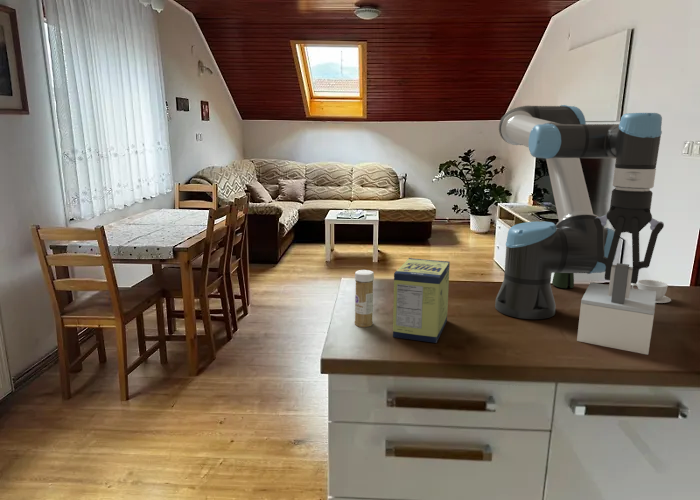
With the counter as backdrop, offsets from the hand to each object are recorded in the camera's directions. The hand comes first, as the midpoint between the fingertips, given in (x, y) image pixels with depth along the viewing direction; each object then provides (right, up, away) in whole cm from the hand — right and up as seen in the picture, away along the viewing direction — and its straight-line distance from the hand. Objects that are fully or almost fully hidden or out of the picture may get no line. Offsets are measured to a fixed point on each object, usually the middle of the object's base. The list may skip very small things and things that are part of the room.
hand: (618, 295), depth 110 cm
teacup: (+27, -4, +34) cm, 44 cm away
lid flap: (+2, -1, +4) cm, 5 cm away
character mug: (+6, -2, +44) cm, 44 cm away
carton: (+2, -10, +6) cm, 12 cm away
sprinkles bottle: (-56, -8, +13) cm, 58 cm away
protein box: (-42, -9, +10) cm, 44 cm away
